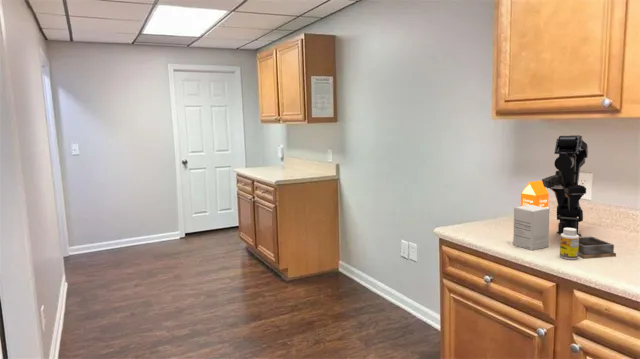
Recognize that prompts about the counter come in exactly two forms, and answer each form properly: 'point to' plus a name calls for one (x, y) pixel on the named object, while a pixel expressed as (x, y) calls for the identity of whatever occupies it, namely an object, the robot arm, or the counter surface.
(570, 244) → the supplement bottle
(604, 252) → the tray
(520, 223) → the supplement box
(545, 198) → the orange juice
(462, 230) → the counter surface
